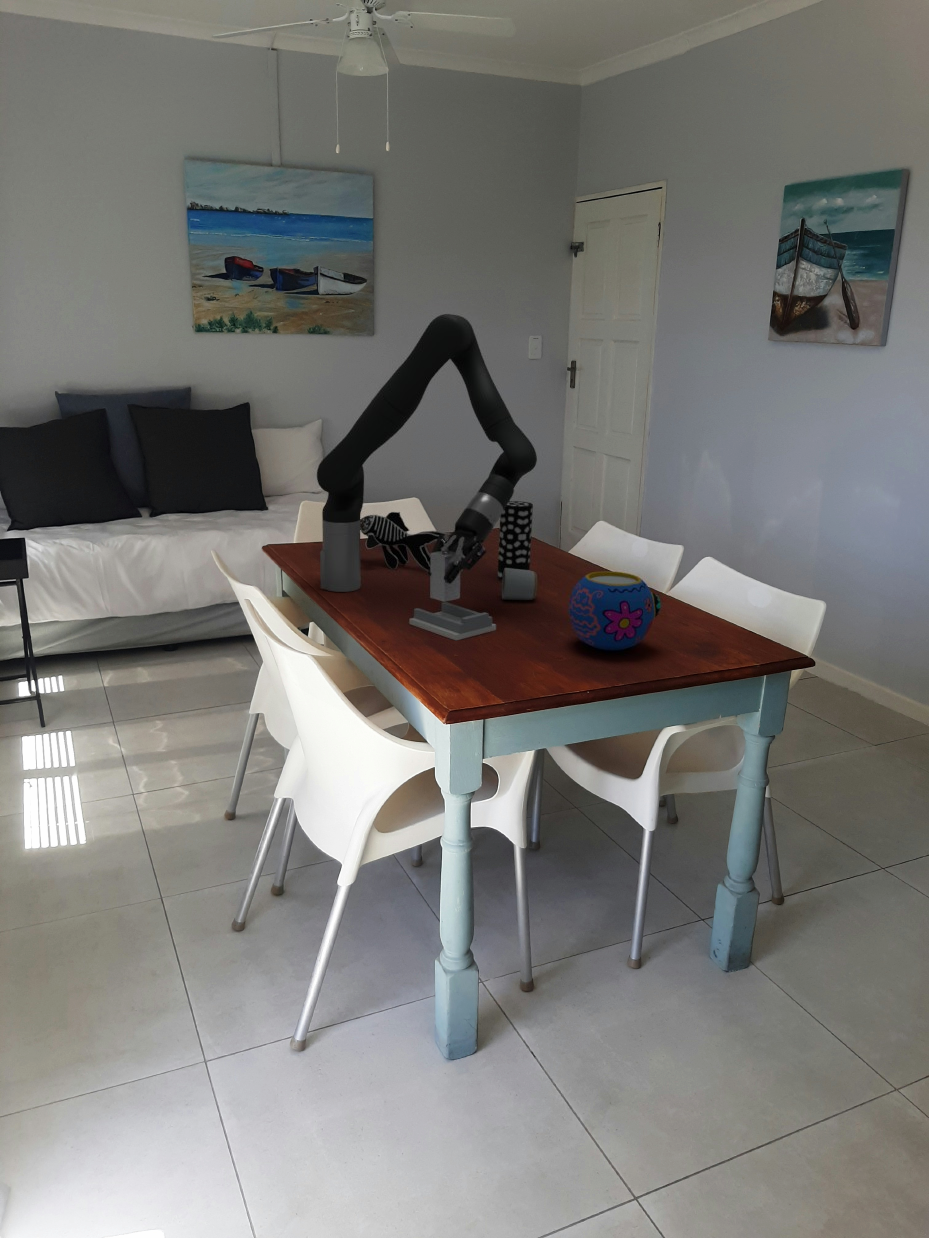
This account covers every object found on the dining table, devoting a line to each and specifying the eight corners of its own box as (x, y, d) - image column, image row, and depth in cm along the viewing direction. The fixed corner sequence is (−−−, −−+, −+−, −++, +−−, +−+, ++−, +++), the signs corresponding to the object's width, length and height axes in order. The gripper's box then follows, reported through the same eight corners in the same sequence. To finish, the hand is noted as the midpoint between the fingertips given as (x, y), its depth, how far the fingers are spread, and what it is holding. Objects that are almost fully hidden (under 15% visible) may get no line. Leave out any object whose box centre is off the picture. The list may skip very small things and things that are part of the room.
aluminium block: (430, 597, 213) (430, 551, 210) (445, 594, 216) (446, 548, 213) (444, 601, 210) (444, 555, 207) (459, 598, 213) (460, 552, 210)
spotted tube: (492, 580, 253) (496, 504, 247) (503, 573, 260) (507, 500, 255) (523, 584, 250) (526, 507, 244) (533, 577, 257) (537, 503, 252)
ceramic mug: (537, 603, 233) (538, 572, 231) (503, 602, 233) (504, 571, 231) (532, 592, 243) (533, 562, 241) (499, 592, 243) (500, 562, 241)
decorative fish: (367, 544, 276) (377, 494, 270) (449, 575, 267) (460, 524, 261) (338, 555, 262) (347, 502, 257) (422, 588, 253) (434, 534, 248)
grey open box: (409, 624, 214) (409, 605, 213) (449, 614, 222) (449, 596, 221) (456, 640, 203) (456, 621, 202) (496, 629, 211) (496, 611, 210)
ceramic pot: (669, 652, 200) (676, 582, 196) (602, 665, 191) (608, 592, 187) (613, 630, 214) (618, 564, 210) (549, 641, 205) (553, 572, 201)
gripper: (448, 502, 217) (407, 563, 213) (494, 511, 207) (452, 575, 203) (465, 523, 222) (425, 582, 218) (510, 533, 212) (470, 595, 208)
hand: (438, 578), depth 210 cm, fingers closed on aluminium block, 4 cm apart
